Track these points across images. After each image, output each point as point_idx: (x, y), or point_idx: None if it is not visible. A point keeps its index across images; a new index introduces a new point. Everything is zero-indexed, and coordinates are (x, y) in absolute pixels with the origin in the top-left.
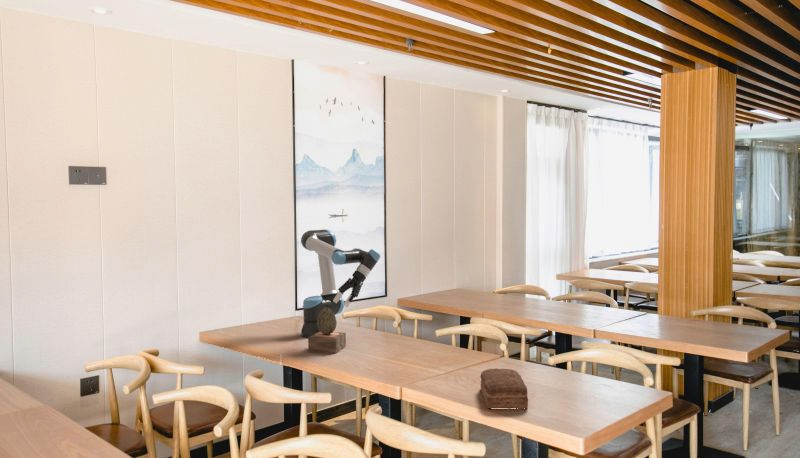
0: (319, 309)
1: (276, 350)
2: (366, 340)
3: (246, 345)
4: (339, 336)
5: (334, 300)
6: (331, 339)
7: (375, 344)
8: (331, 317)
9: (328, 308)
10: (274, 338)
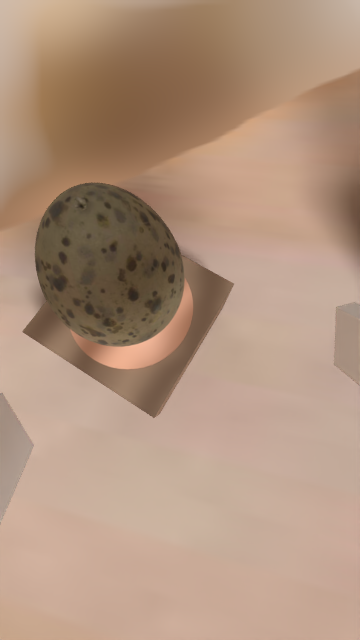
0: None
1: (197, 165)
2: (263, 559)
3: (300, 98)
4: (69, 361)
5: (345, 325)
6: (39, 313)
7: (151, 587)
8: (39, 281)
9: (64, 227)
10: None
